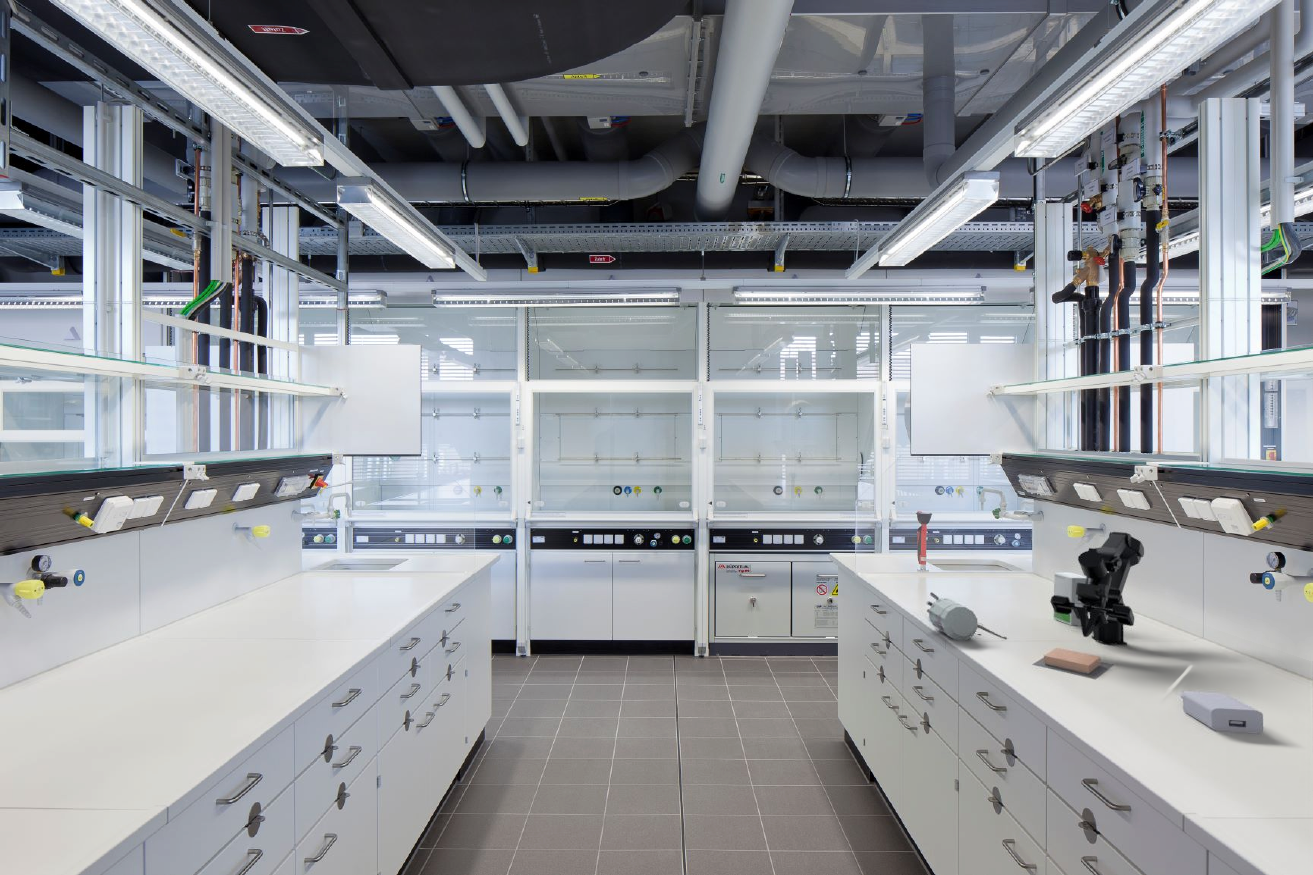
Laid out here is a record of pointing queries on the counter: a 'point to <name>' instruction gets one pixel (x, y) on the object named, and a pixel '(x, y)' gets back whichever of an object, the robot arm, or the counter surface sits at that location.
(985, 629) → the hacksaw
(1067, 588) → the skincare box
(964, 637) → the device
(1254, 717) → the charger
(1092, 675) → the mat
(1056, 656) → the tile
